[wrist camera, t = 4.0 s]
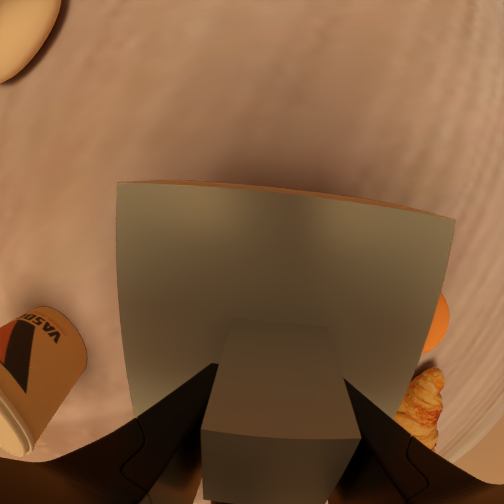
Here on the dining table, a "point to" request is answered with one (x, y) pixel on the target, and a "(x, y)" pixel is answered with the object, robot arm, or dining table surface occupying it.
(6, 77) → the flower in vase
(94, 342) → the dining table surface
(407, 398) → the croissant
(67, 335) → the coffee cup
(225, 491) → the cover
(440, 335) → the ball
